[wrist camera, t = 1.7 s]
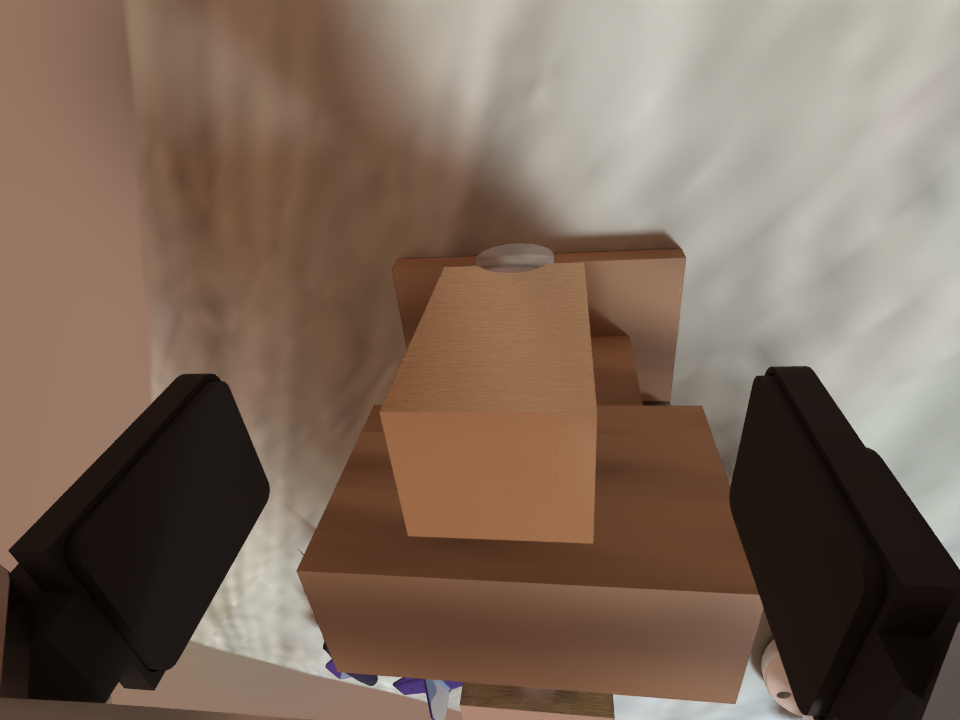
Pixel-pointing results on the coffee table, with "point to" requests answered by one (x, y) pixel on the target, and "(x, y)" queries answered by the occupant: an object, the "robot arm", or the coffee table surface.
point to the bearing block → (557, 565)
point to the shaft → (498, 404)
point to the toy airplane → (409, 687)
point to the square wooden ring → (532, 703)
